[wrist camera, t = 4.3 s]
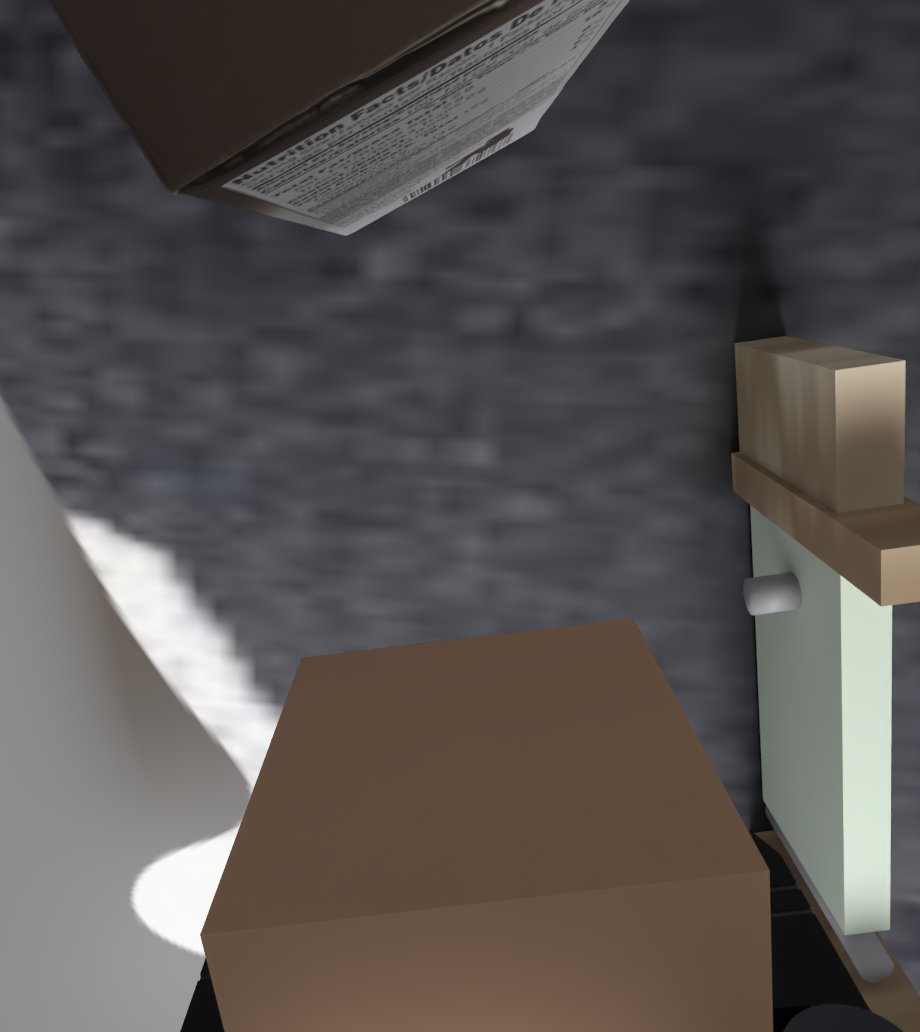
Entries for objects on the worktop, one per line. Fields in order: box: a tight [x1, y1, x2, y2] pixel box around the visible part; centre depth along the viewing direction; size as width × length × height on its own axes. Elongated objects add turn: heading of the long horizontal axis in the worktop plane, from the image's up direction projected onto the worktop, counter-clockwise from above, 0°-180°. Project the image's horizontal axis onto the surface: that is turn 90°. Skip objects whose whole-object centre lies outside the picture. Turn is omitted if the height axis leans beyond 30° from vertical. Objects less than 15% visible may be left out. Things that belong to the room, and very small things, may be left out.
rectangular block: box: [200, 619, 773, 1032], centre depth 10 cm, size 7×4×5 cm, turn 7°
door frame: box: [731, 336, 920, 1032], centre depth 23 cm, size 22×2×9 cm, turn 8°
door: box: [743, 505, 894, 982], centre depth 24 cm, size 11×2×7 cm, turn 8°
